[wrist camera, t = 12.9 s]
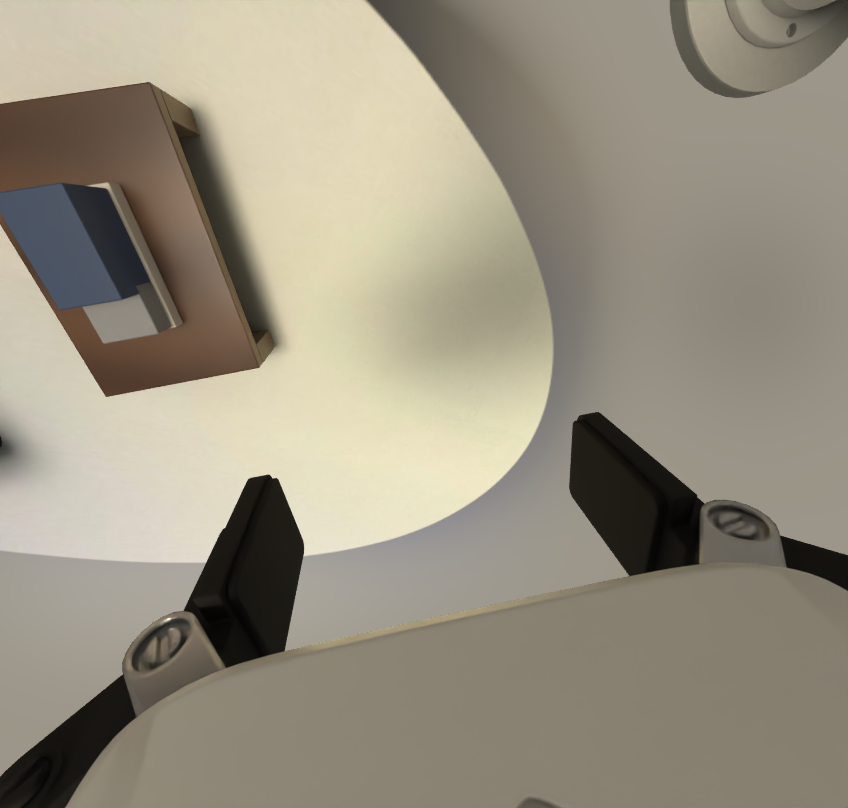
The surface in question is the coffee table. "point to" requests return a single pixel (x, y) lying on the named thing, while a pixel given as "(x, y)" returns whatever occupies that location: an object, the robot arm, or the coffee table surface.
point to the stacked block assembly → (92, 256)
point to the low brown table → (157, 219)
